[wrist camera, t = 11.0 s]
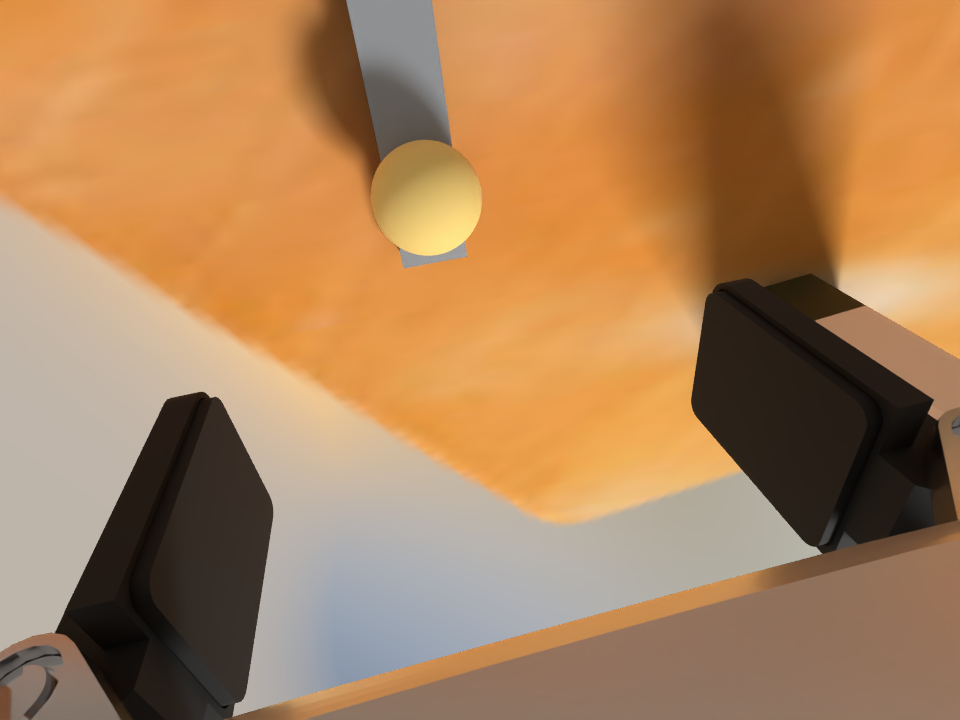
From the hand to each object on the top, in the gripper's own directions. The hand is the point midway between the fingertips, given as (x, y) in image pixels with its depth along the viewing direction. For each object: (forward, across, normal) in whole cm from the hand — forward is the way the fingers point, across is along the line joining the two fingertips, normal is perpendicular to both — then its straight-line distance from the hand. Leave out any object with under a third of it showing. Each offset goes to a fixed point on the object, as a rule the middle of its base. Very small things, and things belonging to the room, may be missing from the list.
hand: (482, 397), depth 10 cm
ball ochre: (+15, 0, 0) cm, 15 cm away
